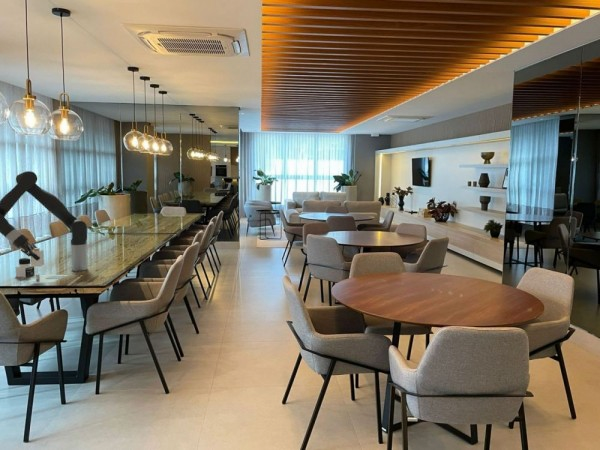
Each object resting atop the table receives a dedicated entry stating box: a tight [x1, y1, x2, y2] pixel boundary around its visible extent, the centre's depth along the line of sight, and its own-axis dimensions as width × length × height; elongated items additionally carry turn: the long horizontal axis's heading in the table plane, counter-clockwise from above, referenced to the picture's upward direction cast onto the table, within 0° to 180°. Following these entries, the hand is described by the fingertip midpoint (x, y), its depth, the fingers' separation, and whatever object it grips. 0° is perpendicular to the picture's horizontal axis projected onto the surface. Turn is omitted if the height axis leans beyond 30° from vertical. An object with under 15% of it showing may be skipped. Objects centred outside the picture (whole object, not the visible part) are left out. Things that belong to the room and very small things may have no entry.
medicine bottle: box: [15, 257, 36, 278], centre depth 283 cm, size 7×7×12 cm
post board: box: [26, 273, 69, 283], centre depth 278 cm, size 19×15×5 cm
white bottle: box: [29, 247, 45, 268], centre depth 271 cm, size 5×5×10 cm
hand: (40, 258), depth 271 cm, fingers closed on white bottle, 5 cm apart
